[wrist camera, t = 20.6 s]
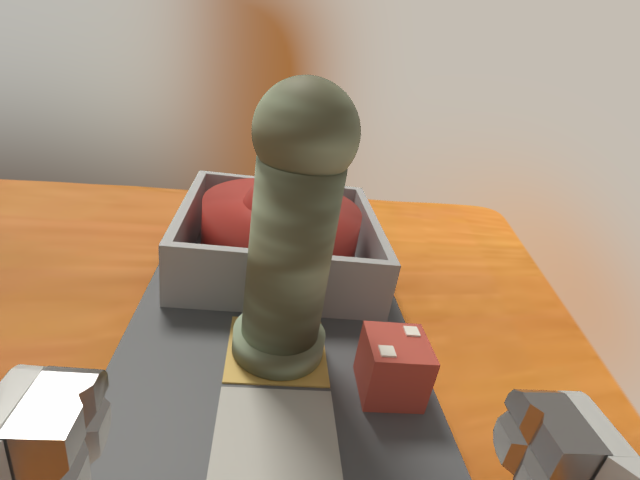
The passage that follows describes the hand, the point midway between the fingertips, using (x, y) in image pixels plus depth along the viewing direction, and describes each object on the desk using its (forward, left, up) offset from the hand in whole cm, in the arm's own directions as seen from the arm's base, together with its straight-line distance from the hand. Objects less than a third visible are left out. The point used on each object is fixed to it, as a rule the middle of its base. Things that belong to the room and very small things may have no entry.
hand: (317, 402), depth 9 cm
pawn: (0, +12, -9) cm, 15 cm away
